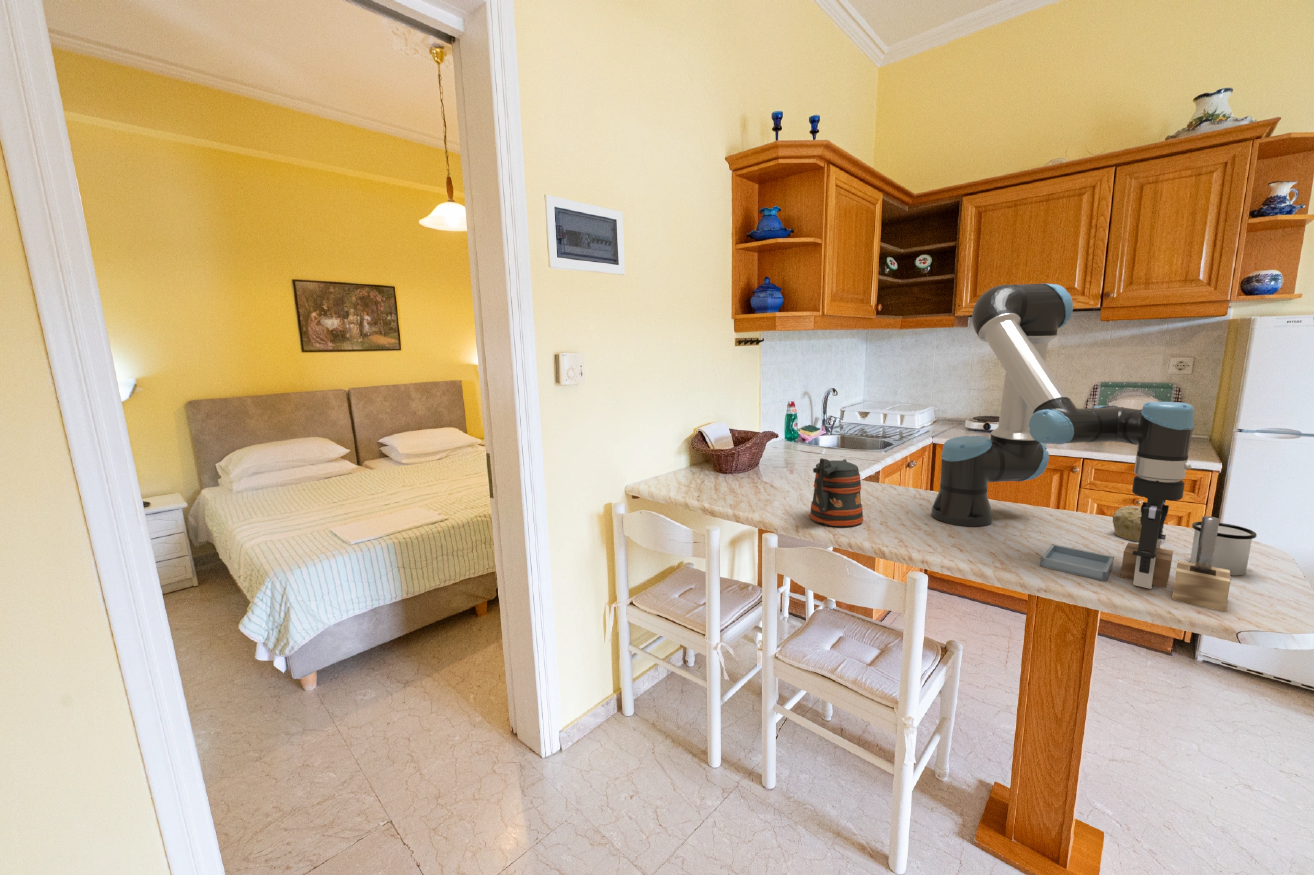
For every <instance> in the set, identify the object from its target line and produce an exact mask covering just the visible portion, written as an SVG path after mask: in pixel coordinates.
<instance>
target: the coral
mask: <svg viewBox="0 0 1314 875" xmlns="http://www.w3.org/2000/svg"><path fill="white" fill-rule="evenodd" d="M1141 514H1142V513H1141V506H1139V505H1138V506H1137V505H1125V506H1121V507H1119V508H1118V509H1116V510H1115V511H1114V513H1113V514H1112V524H1113V528H1114V532H1115V535H1116V536H1117V537H1120V538H1122V539H1124V540H1129V541H1132V542H1137V543H1139V539H1140V533H1141V527H1142V525H1141V524H1140V520H1141ZM1164 527H1165V526H1163V528H1162V530H1163V532H1164ZM1163 532H1162V533H1161V534H1163ZM1158 540H1161V539H1158Z"/></svg>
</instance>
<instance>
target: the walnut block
mask: <svg viewBox="0 0 1314 875" xmlns="http://www.w3.org/2000/svg"><path fill="white" fill-rule="evenodd" d="M1138 546H1139V543H1132V542H1127V544H1126V546H1125V547H1124V550H1123V555H1122V564H1121V568H1120V569H1121V570H1120V578H1121V579H1125V580H1130V581H1134V573H1135V566H1136V558H1137V555H1133V551H1137V550H1138ZM1142 550H1145V549H1142ZM1145 551H1150V550H1145ZM1150 552H1151V551H1150ZM1155 554H1156V559H1155V566H1154V573H1153V580H1152V586H1156V587H1160V588H1165V589H1167V588H1168V582H1169V580H1170V575H1171V568H1172V563H1173V562H1172V560H1173V554H1174V551H1173V550H1170V549H1165V548H1161V547H1160V548H1156V551H1155Z"/></svg>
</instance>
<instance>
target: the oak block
mask: <svg viewBox="0 0 1314 875" xmlns="http://www.w3.org/2000/svg"><path fill="white" fill-rule="evenodd" d="M1194 569H1195V563H1190V561H1185V560H1180V559H1178V560H1177V564H1176V569H1175V575H1174V576H1175V577H1174V582H1173V588H1172V589H1173V590H1172V596H1171V597H1172V598H1171V600H1174V601H1177V602H1178V601H1179V602H1182V603H1187V604H1190V605H1193V606H1199V607H1204V608H1208V609H1212V610H1215V611H1220V612H1224V613H1225V612H1226V610H1227V604H1228V599H1229V592H1230V586H1231V575H1230V570H1226V569H1221V568H1216V567H1212V570H1211V575H1209V574H1204V573H1199V572H1194Z"/></svg>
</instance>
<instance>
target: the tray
mask: <svg viewBox="0 0 1314 875" xmlns="http://www.w3.org/2000/svg"><path fill="white" fill-rule="evenodd" d="M1114 561H1115V556H1112V555H1106V554H1101V553H1096V552H1093V551H1087V550H1082V549H1078V548H1073V547H1068V546H1063V545H1059V544H1054V543H1052V544H1051V545H1050V546H1049V547H1048V549H1047V550H1046V551H1045V552H1044V553H1043V555H1042V556H1041V558H1040V564H1039V566H1040V567H1041V568H1047V569H1051V570H1055V571H1059V572H1064V573H1068V574H1072V575H1076V576H1080V577H1085V578H1089V579H1093V580H1098V581H1102V582H1107V579H1108V577H1109V576H1110V573H1111V571H1112V569H1113V566H1114V563H1115V562H1114Z"/></svg>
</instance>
